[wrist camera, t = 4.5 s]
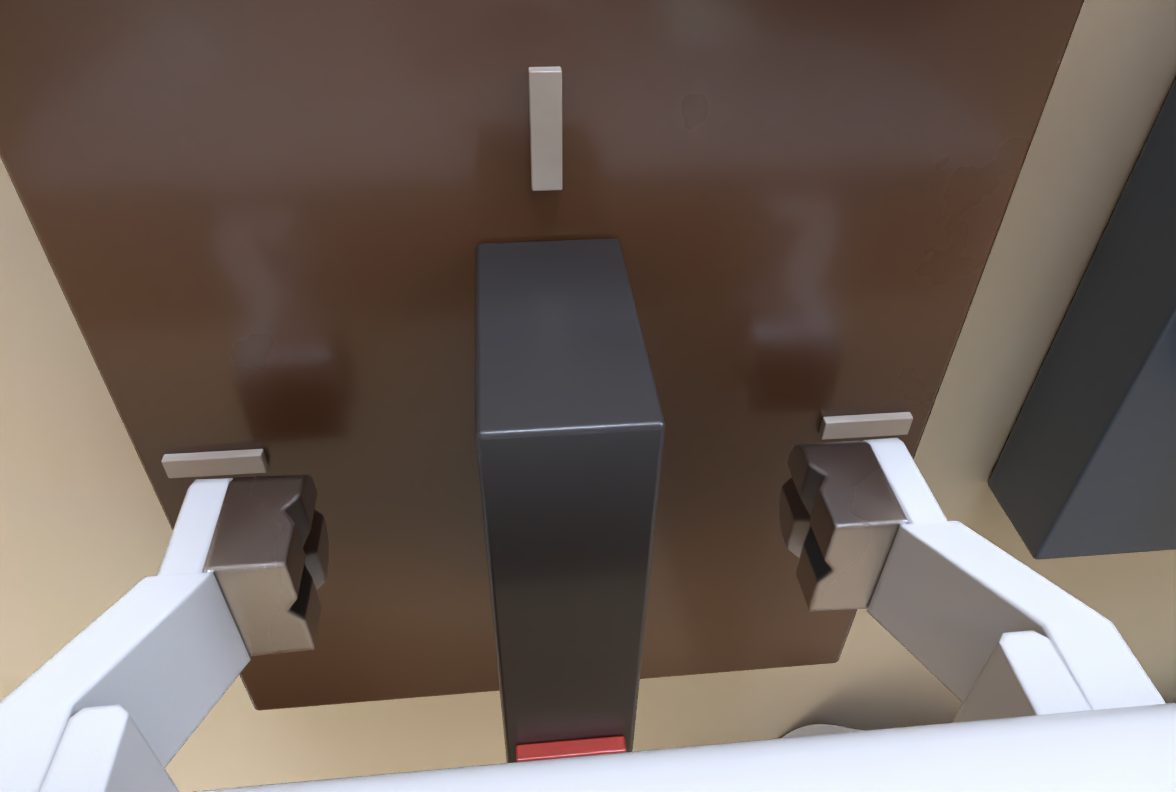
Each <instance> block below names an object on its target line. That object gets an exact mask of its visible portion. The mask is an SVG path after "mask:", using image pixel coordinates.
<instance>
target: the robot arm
mask: <svg viewBox="0 0 1176 792" xmlns="http://www.w3.org/2000/svg"><path fill="white" fill-rule="evenodd" d="M787 465H788V467H789V470H790V473H791V475H792V478H790V479H789V480H788V481H787V482H786V483H785V484H784V485H783V486H782V489H781V494H780V499H779V521H780V526H781V531H782V535H783V538H784V541H785V544H786V547H787V549H788V550H790V551H791V552H792V553H793V554H795V555H796V556H797V557H798V558H800V559H799V563H798V567H797V571H796V576H797V578H798V581H799V584H800V587H801V589H802V592H803V595H804V598H805V600H806V603H807V606H808V609H809V611H827V610H847V609H867V608H868V610H867V612H868V613H869V614H870V615H871V616H872V617H873V618H875V619H876V620H877V621H878V622H879V623H880V624H881V625H882V626H883V627H884V628H885V629H886V630H887V631H888V632H889V633H890V634H891V635H892V636H893V637H894V638H895V639H897V640H898V641H899V642H900V643H901V644H902V645H903V646H904V647H905V648H906V649H907V650H908V651H909V652H910V653H911V654H912V655H913V656H914V657H915V658H916V659H917V660H919V661H920V662H921V663H922V664H923V665H924V666H925V667H926V668H927V669H928V670H929V671H930V672H931V673H932V674H933V675H934V676H935V677H936V678H937V679H938V680H940V681H941V682H942V683H943V684H944V685H945V686H946V687H947V688H948V689H949V690H950V691H951V692H952V693H953V694H954V695H955V696H956V697H957V698H958V699H959V700H960V701H962V702H963V704H962V706H961V708H960V709H959V711H958V713H957V715H956V716H955V718H954V720H953V721H952V723H945V724H934V725H923V726H911V727H900V728H889V729H878V730H867V731H856V732H845V733H834V734H823V735H812V736H801V737H790V738H779V739H768V740H757V741H746V742H735V743H724V744H713V745H702V746H691V747H680V748H669V749H658V750H647V751H636V752H625V753H614V754H603V755H592V756H581V757H570V758H559V759H548V760H536V761H525V762H514V763H503V764H492V765H481V766H470V767H459V768H448V769H437V770H426V771H415V772H404V773H392V774H381V775H370V776H359V777H348V778H337V779H326V780H315V781H304V782H293V783H281V784H270V785H259V786H248V787H237V788H226V789H215V790H204V791H193V792H1176V703H1166V702H1165V701H1164V699H1163V698H1162V696H1161V695H1160V693H1159V692H1158V690H1157V689H1156V687H1155V686H1154V684H1153V683H1152V681H1151V680H1150V678H1149V677H1148V675H1147V674H1146V672H1145V671H1144V669H1143V668H1142V666H1141V665H1140V663H1139V662H1138V660H1137V659H1136V657H1135V656H1134V654H1133V653H1132V651H1131V650H1130V648H1129V647H1128V645H1127V644H1126V642H1125V641H1124V639H1123V638H1122V636H1121V635H1120V633H1119V632H1118V630H1117V629H1116V627H1115V626H1114V624H1113V623H1112V622H1111V621H1110V620H1108V619H1107V618H1105V617H1103V616H1102V615H1100V614H1099V613H1097V612H1096V611H1094V610H1093V609H1091V608H1090V607H1088V606H1087V605H1085V604H1084V603H1082V602H1081V601H1079V600H1078V599H1076V598H1075V597H1073V596H1072V595H1070V594H1069V593H1067V592H1066V591H1064V590H1062V589H1061V588H1059V587H1058V586H1056V585H1055V584H1053V583H1052V582H1050V581H1049V580H1047V579H1046V578H1044V577H1043V576H1041V575H1040V574H1038V573H1037V572H1035V571H1034V570H1032V569H1031V568H1029V567H1028V566H1026V565H1024V564H1023V563H1021V562H1020V561H1018V560H1017V559H1015V558H1014V557H1012V556H1011V555H1009V554H1008V553H1006V552H1005V551H1003V550H1002V549H1000V548H999V547H997V546H996V545H994V544H993V543H991V542H990V541H988V540H986V539H985V538H983V537H982V536H980V535H979V534H977V533H976V532H974V531H973V530H971V529H970V528H968V527H967V526H965V525H964V524H962V523H961V522H959V521H948V520H947V519H946V517H945V515H944V513H943V512H942V510H941V508H940V506H939V504H938V503H937V501H936V499H935V497H934V496H933V494H932V492H931V490H930V489H929V487H928V485H927V483H926V481H925V480H924V478H923V476H922V474H921V473H920V471H919V469H918V467H917V466H916V464H915V462H914V460H913V458H912V457H911V455H910V453H909V451H908V450H907V448H906V446H905V444H904V443H903V442H902V441H901V440H900V439H898V438H885V439H871V440H863V441H859V440H857V441H843V442H828V443H814V444H800V445H795V446H794V447H793V449H792V450H791V452H790V455H789V459H788V463H787ZM316 498H317V490H316V487H315V484H314V481H313V478H312V476H309V475H284V476H256V477H234V478H222V479H196V480H195V481H194V482H193V483H192V484H191V486H190V487H189V488H188V490H187V493H186V495H185V498H184V501H183V504H182V507H181V509H180V512H179V515H178V518H177V521H176V524H175V526H174V529H173V532H172V535H171V538H170V540H169V543H168V546H167V549H166V552H165V554H164V557H163V560H162V563H161V566H160V569H159V571H158V574H157V576H148V577H145V578H143V579H142V580H141V581H140V582H139V583H138V584H136V585H135V586H134V587H133V588H132V589H131V590H129V591H128V592H127V593H126V594H125V595H124V596H123V597H121V598H120V599H119V600H118V601H117V602H116V603H114V604H113V605H112V606H111V607H110V608H109V609H107V610H106V611H105V612H104V613H103V614H102V615H100V616H99V617H98V618H97V619H96V620H95V621H93V622H92V623H91V624H90V625H89V626H88V627H86V628H85V629H84V630H83V631H82V632H81V633H80V634H78V635H77V636H76V637H75V638H74V639H73V640H71V641H70V642H69V643H68V644H67V645H66V646H64V647H63V648H62V649H61V650H60V651H59V652H57V653H56V654H55V655H54V656H53V657H52V658H50V659H49V660H48V661H47V662H46V663H45V664H44V665H42V666H41V667H40V668H39V669H38V670H37V671H35V672H34V673H33V674H32V675H31V676H30V677H28V678H27V679H26V680H25V681H24V682H23V683H21V684H20V685H19V686H18V687H17V688H16V689H14V690H13V691H12V692H11V693H10V694H9V695H8V696H6V697H5V698H4V699H3V700H2V701H1V702H0V792H179V790H178V789H177V787H176V786H175V784H174V783H173V781H172V779H171V778H170V776H169V775H168V773H167V772H166V770H165V769H164V768H165V767H166V766H167V764H168V763H169V762H170V761H171V759H172V758H173V757H174V756H175V754H176V753H177V752H178V751H179V749H180V748H181V747H182V746H183V744H184V743H185V742H186V741H187V739H188V738H189V737H190V736H191V734H192V733H193V732H194V731H195V729H196V728H197V727H198V725H199V724H200V723H201V722H202V720H203V719H204V718H205V717H206V715H207V714H208V713H209V712H210V710H211V709H212V708H213V707H214V705H215V704H216V703H217V702H218V700H219V699H220V698H221V697H222V695H223V694H224V693H225V692H226V690H227V689H228V688H229V687H230V685H231V684H232V683H233V682H234V680H235V679H236V678H237V676H238V675H239V674H240V673H241V671H242V670H243V669H244V668H245V666H246V665H247V664H248V663H249V661H250V657H249V656H258V655H267V654H277V653H287V652H296V651H306V650H314V649H315V643H316V638H317V632H318V626H319V620H320V614H321V605H320V601H319V598H318V595H317V590H318V589H319V588H320V587H321V586H322V585H323V584H324V583H325V582H326V577H327V571H328V564H329V540H328V533H327V526H326V522H325V519H324V515H322V514H321V513H320V512H318V511H317V510H315V504H316Z"/></svg>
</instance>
